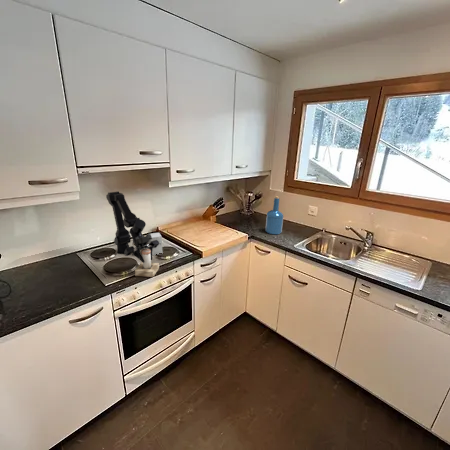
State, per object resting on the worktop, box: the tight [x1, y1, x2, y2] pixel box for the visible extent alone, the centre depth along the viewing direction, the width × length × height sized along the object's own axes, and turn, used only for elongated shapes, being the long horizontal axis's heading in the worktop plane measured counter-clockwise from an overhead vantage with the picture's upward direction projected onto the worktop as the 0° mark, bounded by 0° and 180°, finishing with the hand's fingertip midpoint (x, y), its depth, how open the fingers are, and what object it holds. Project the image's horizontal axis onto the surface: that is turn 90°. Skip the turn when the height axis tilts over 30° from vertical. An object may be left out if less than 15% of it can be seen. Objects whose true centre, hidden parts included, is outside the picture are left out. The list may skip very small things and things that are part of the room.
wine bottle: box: [264, 195, 284, 235], centre depth 207 cm, size 14×13×30 cm
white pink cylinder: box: [140, 248, 152, 269], centre depth 142 cm, size 5×5×12 cm
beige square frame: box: [134, 261, 160, 278], centre depth 144 cm, size 10×10×4 cm
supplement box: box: [147, 232, 163, 256], centre depth 167 cm, size 7×7×13 cm
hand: (147, 261), depth 141 cm, fingers closed on white pink cylinder, 4 cm apart
